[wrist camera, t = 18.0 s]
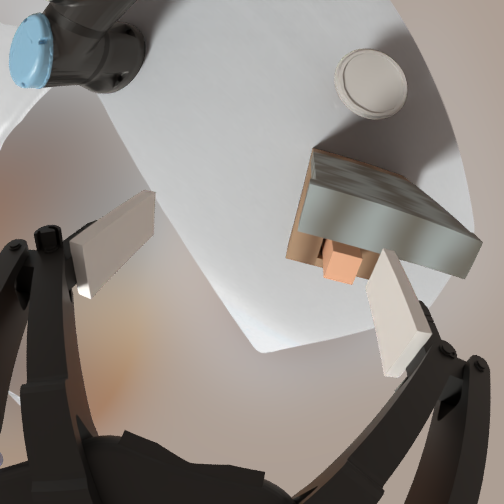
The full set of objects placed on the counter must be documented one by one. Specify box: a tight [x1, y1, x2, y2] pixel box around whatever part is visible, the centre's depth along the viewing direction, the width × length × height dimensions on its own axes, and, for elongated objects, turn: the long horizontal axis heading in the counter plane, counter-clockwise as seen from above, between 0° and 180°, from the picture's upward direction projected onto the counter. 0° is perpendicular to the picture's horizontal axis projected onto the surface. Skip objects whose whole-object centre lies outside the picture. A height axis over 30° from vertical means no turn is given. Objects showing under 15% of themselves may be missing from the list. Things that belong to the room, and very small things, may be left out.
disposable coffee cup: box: [334, 49, 408, 120], centre depth 32 cm, size 10×10×12 cm
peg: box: [322, 238, 363, 285], centre depth 44 cm, size 4×4×12 cm
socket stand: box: [286, 148, 483, 280], centre depth 36 cm, size 17×18×26 cm
